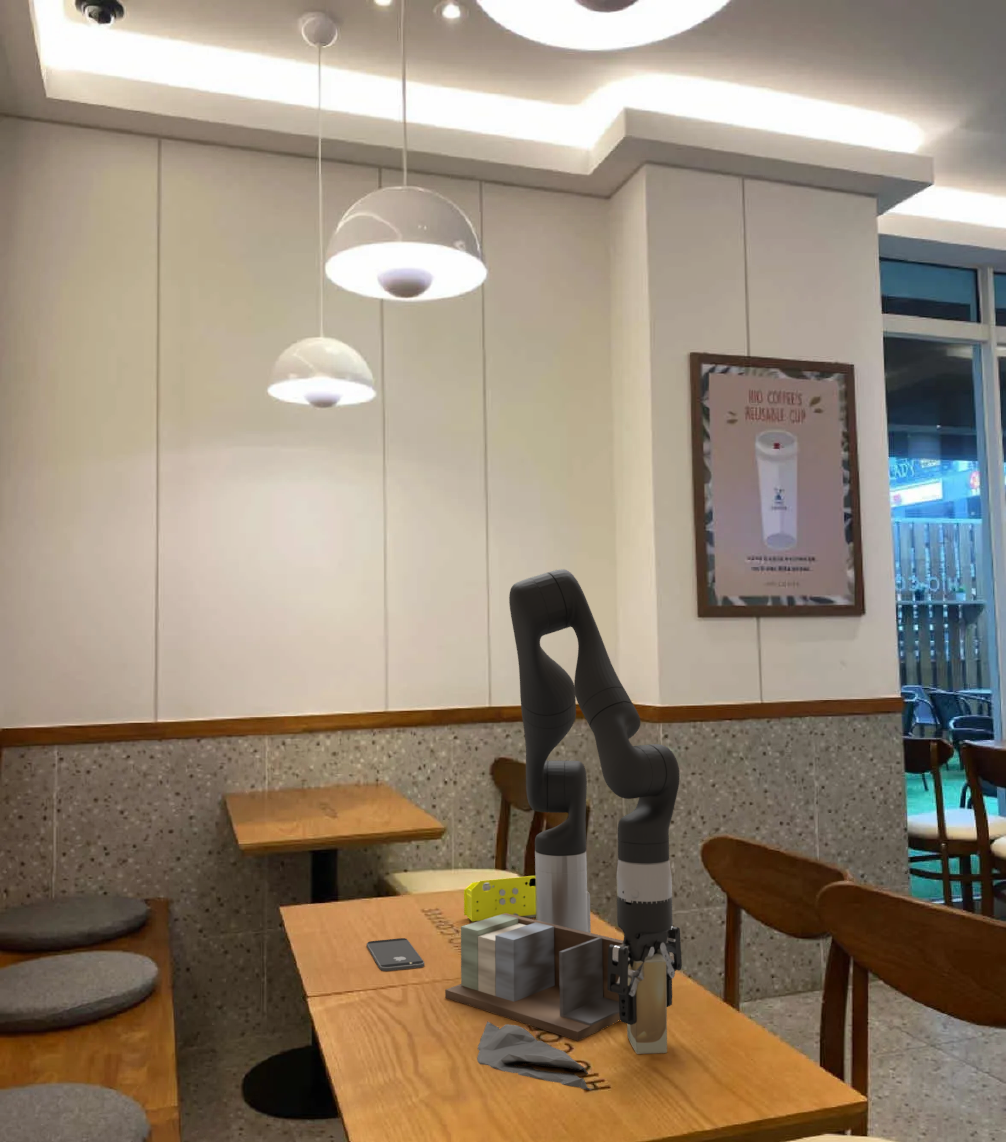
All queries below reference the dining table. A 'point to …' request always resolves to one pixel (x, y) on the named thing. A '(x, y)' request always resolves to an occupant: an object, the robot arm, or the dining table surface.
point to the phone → (394, 954)
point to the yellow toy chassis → (500, 898)
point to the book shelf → (548, 998)
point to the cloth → (525, 1055)
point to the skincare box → (650, 1008)
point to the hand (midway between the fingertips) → (646, 1014)
